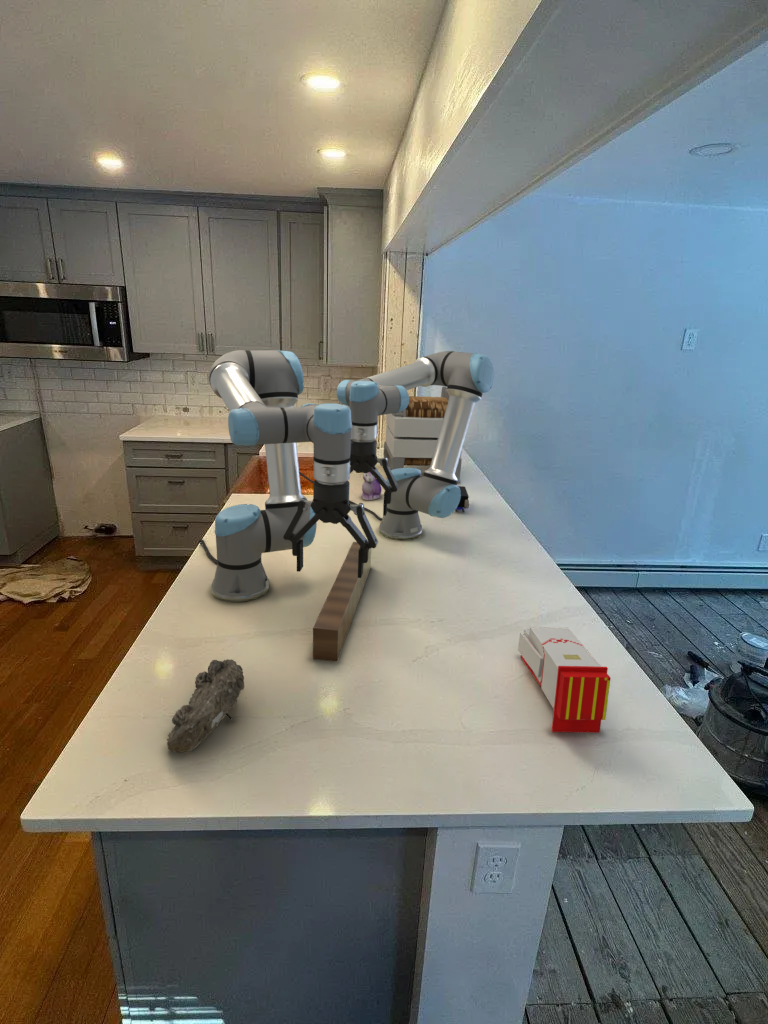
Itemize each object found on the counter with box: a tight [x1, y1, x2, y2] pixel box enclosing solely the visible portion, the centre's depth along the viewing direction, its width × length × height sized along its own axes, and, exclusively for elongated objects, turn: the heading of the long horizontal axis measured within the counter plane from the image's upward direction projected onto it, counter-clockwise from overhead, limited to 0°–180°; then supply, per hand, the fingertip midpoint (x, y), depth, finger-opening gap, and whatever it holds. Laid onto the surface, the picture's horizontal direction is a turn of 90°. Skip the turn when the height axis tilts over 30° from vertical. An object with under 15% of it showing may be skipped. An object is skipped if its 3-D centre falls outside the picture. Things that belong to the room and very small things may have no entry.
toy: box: [517, 626, 611, 734], centre depth 119 cm, size 12×13×30 cm
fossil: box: [166, 658, 245, 754], centre depth 106 cm, size 22×10×15 cm
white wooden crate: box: [383, 386, 463, 484], centre depth 268 cm, size 34×33×41 cm
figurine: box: [361, 472, 382, 501], centre depth 234 cm, size 9×10×15 cm
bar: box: [312, 541, 372, 663], centre depth 149 cm, size 50×6×8 cm, turn 173°
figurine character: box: [454, 485, 470, 513], centre depth 227 cm, size 7×8×15 cm
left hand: (330, 572), depth 125 cm, fingers open, 13 cm apart
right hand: (361, 512), depth 162 cm, fingers open, 13 cm apart
